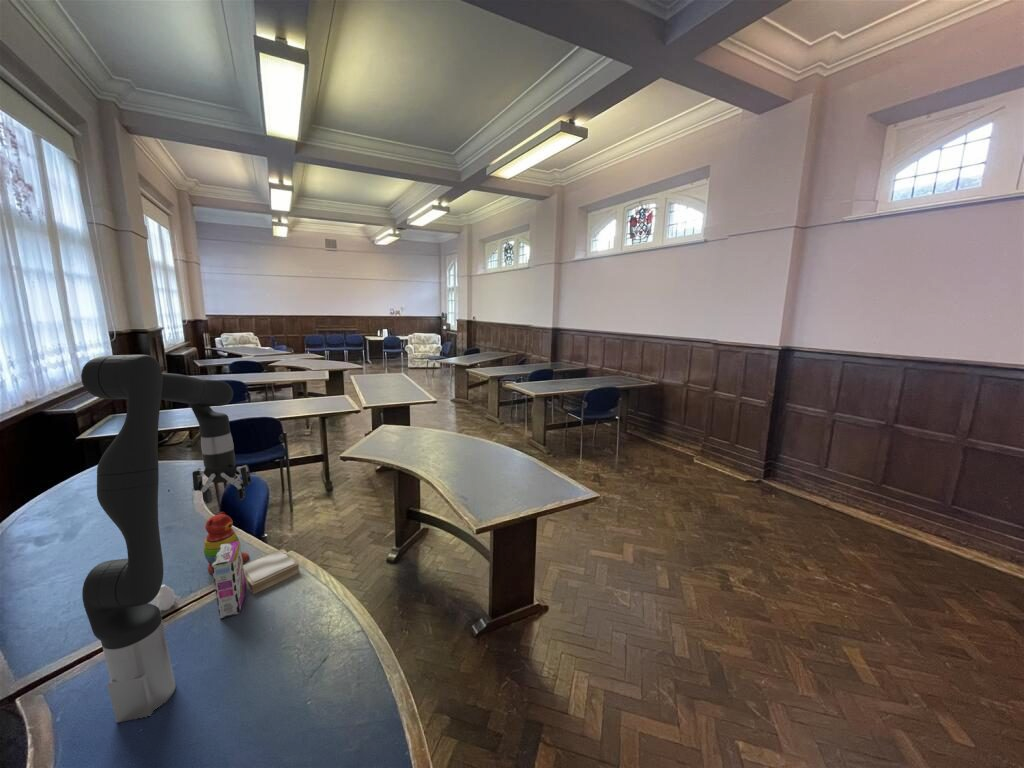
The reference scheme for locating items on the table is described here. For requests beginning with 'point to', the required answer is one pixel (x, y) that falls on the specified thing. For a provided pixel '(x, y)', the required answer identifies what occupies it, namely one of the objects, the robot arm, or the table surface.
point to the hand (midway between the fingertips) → (225, 500)
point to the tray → (269, 570)
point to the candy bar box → (229, 579)
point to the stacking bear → (219, 537)
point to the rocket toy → (165, 598)
